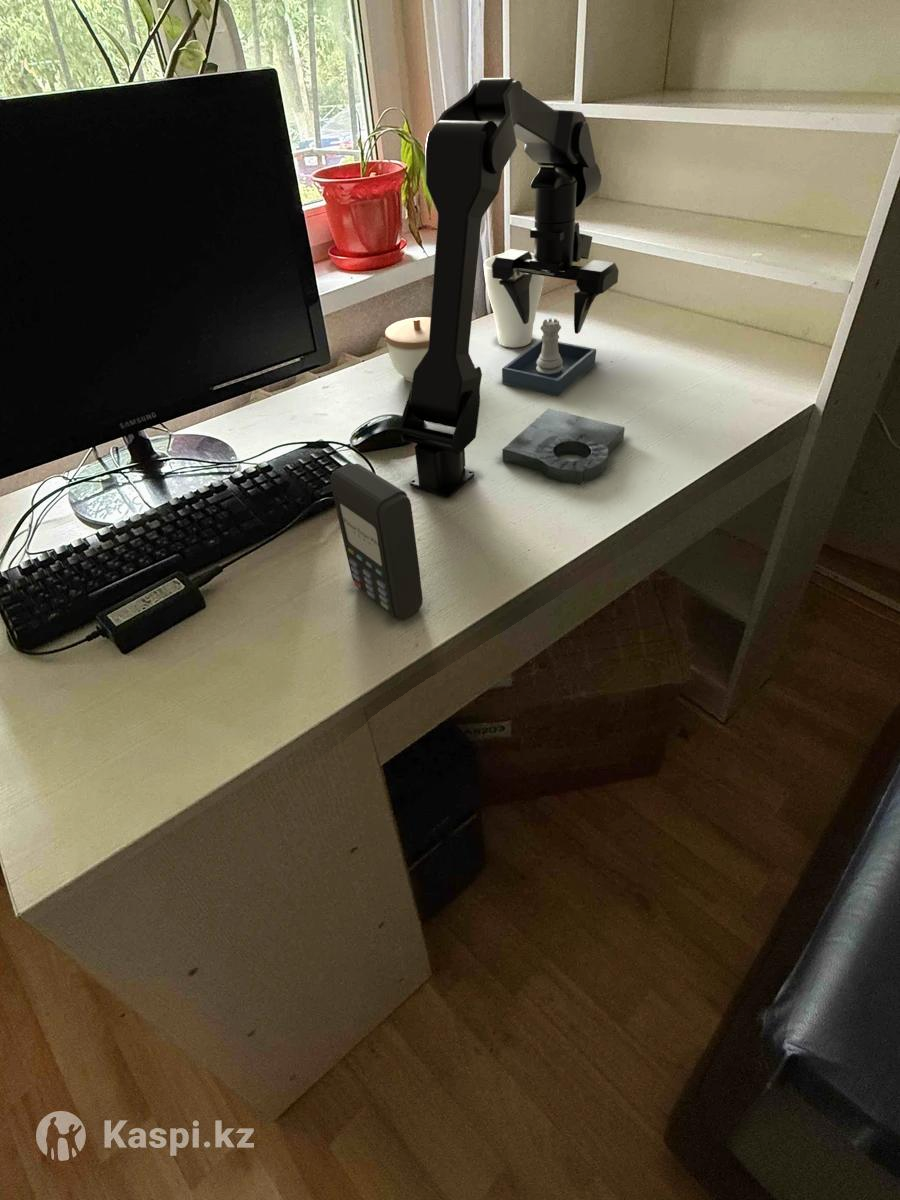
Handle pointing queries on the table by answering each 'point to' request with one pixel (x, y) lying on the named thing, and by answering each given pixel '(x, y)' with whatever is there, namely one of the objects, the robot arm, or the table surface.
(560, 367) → the rook chess piece
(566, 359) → the tray
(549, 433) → the drain plate
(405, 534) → the card reader
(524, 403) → the table surface
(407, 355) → the trinket box
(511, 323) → the cup
